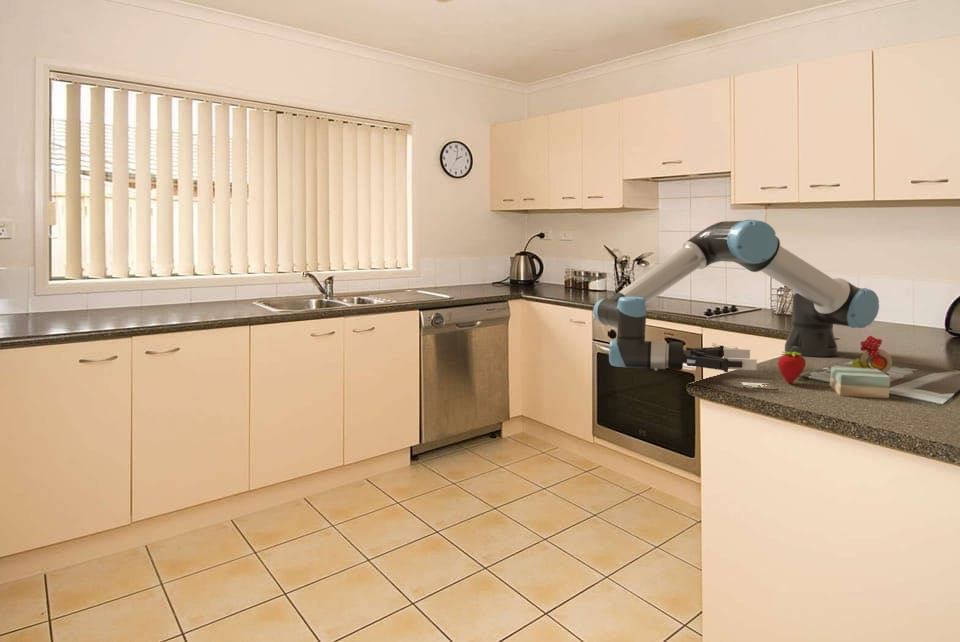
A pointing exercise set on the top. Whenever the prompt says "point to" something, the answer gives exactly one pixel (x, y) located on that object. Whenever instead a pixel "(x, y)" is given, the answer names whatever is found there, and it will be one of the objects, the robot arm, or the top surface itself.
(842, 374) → the base brick
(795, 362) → the strawberry
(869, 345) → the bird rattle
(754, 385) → the page
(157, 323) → the top surface
